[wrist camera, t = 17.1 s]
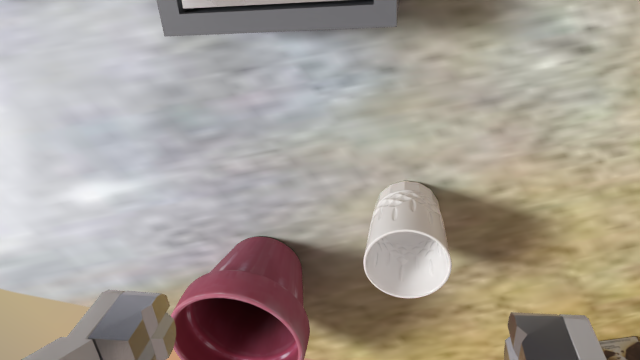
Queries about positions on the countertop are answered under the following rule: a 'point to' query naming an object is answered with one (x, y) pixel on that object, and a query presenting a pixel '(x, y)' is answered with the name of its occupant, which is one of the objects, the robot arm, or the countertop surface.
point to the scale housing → (276, 17)
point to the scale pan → (238, 2)
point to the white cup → (407, 242)
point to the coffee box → (621, 349)
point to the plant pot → (245, 307)
